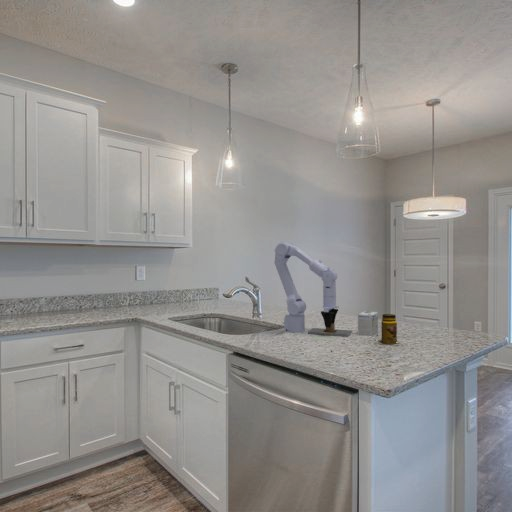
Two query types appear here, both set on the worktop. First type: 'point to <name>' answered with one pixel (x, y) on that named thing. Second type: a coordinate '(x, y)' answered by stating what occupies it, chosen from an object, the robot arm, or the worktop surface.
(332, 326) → the peg
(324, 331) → the hole plate
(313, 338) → the pad
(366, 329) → the light bulb box
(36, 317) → the worktop surface
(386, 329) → the condiment
